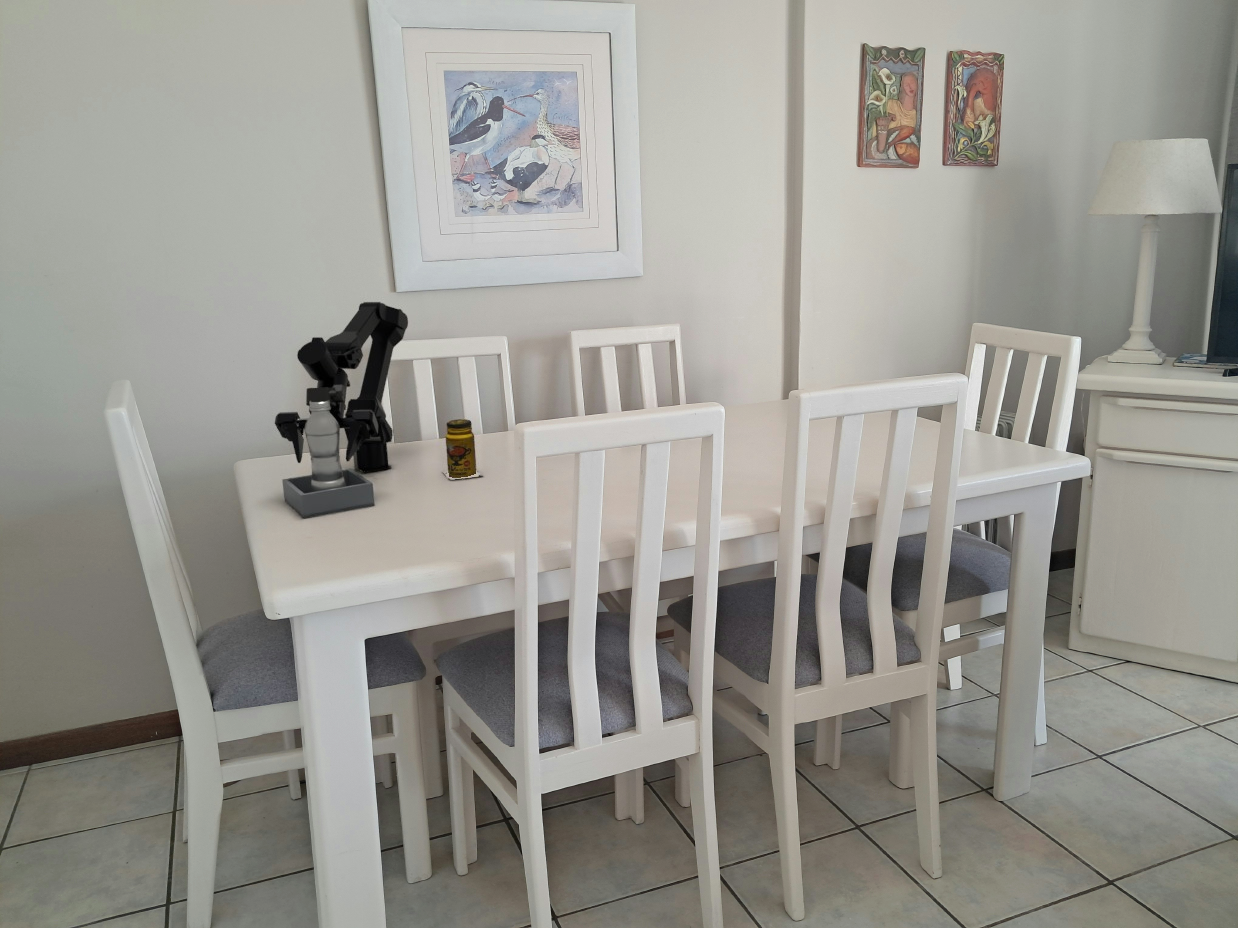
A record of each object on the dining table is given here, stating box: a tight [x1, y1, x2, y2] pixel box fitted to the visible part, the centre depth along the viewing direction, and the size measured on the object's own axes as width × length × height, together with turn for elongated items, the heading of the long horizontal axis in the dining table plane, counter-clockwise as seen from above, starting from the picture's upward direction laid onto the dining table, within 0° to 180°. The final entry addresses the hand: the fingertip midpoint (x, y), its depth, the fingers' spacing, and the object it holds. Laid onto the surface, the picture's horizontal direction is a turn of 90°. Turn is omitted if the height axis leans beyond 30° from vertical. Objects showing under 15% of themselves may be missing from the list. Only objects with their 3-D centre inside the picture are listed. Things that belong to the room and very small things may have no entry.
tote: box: [281, 468, 376, 519], centre depth 181 cm, size 14×14×4 cm
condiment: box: [445, 418, 477, 478], centre depth 199 cm, size 7×8×12 cm
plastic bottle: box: [304, 400, 346, 492], centre depth 178 cm, size 6×7×20 cm
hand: (322, 461), depth 178 cm, fingers open, 9 cm apart
